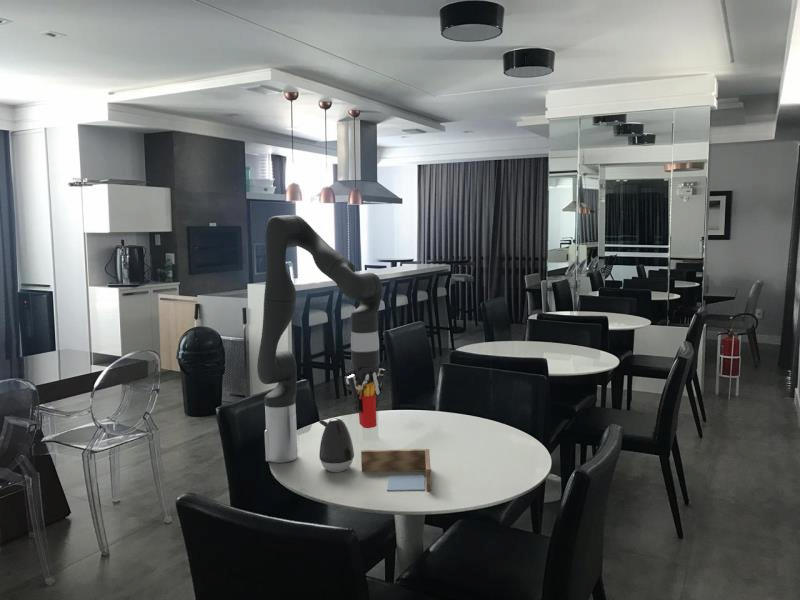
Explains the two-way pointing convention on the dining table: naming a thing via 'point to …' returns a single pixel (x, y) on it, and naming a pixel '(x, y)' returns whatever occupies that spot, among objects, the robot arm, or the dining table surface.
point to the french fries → (368, 407)
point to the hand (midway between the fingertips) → (367, 409)
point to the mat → (406, 483)
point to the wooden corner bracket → (397, 461)
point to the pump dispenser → (336, 446)
